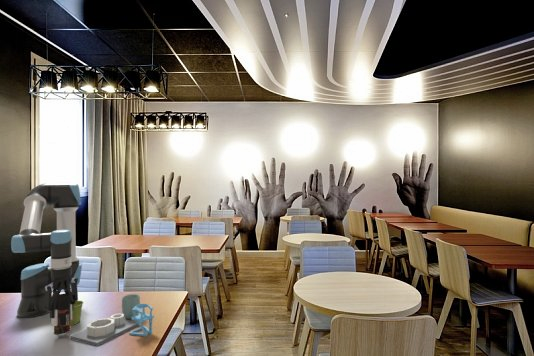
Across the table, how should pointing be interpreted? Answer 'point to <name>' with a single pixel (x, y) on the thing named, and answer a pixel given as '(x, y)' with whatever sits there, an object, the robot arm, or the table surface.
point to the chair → (142, 320)
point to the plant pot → (76, 312)
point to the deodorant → (63, 314)
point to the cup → (130, 305)
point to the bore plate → (103, 338)
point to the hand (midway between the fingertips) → (62, 322)
